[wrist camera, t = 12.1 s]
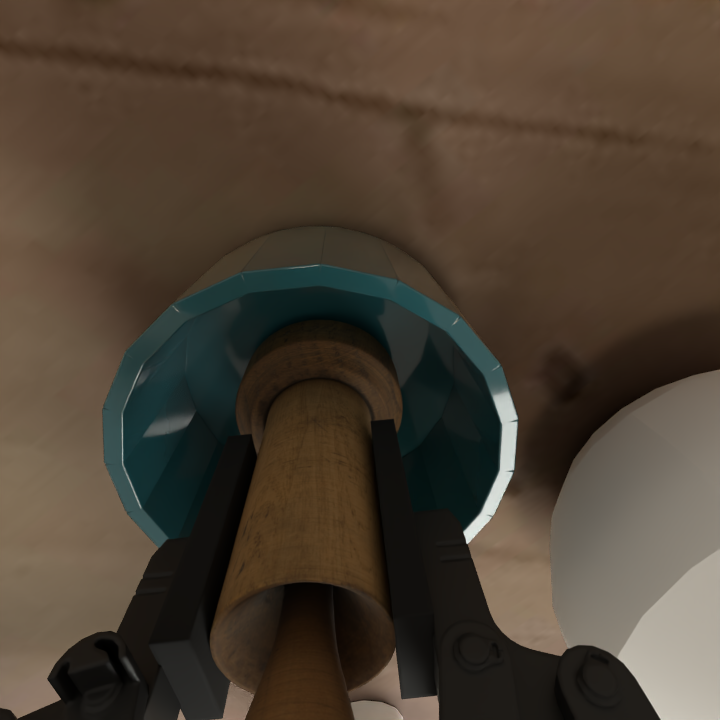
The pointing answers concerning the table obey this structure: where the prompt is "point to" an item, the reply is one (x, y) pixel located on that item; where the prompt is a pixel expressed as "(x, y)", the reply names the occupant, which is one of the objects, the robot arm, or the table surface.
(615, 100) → the table surface
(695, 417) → the vase
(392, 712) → the foam cup
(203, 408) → the crock
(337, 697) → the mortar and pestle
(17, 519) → the table surface
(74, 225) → the table surface
